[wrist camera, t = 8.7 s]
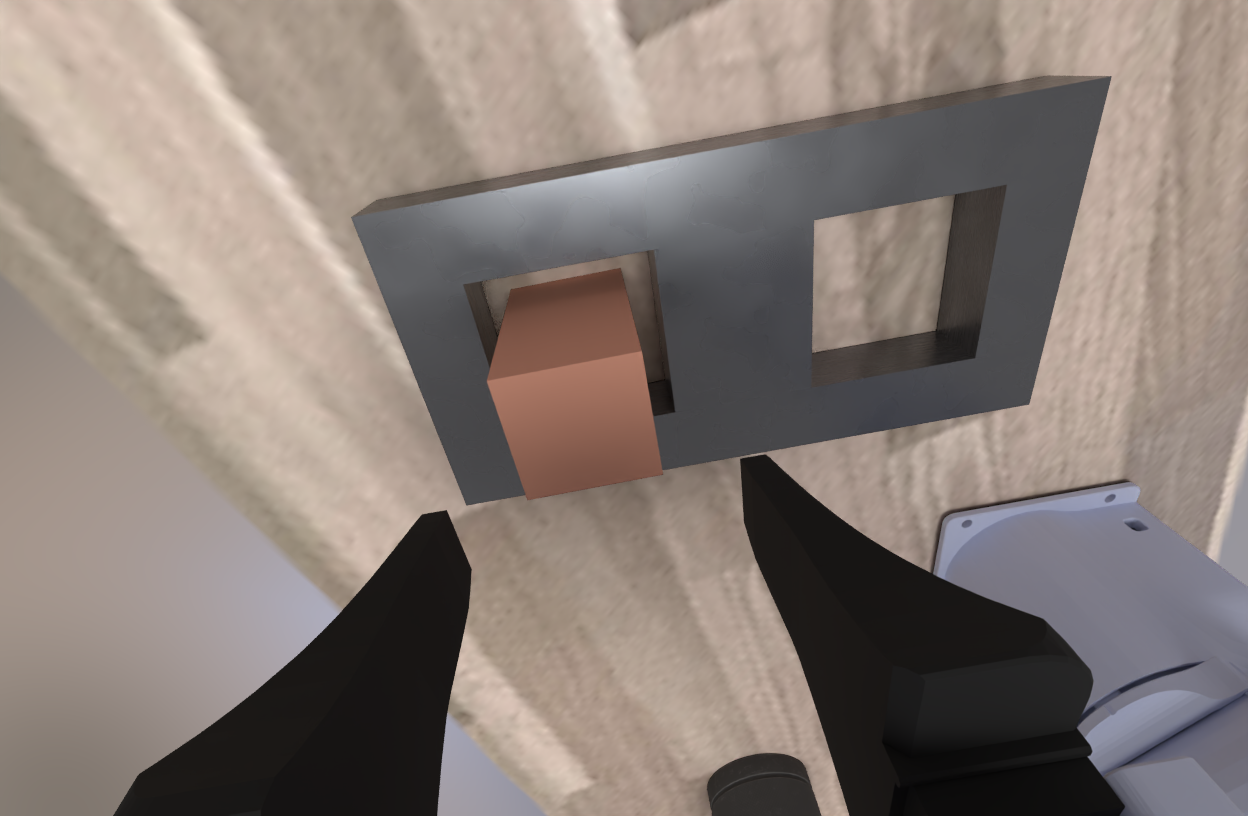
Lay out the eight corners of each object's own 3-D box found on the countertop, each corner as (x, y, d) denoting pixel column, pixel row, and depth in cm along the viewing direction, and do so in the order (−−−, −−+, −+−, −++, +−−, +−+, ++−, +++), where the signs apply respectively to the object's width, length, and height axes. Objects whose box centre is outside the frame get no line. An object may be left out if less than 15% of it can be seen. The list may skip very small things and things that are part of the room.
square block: (620, 268, 20) (641, 350, 14) (637, 366, 22) (663, 474, 16) (510, 289, 20) (486, 381, 14) (538, 385, 22) (527, 500, 16)
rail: (1047, 75, 18) (1111, 76, 16) (988, 374, 24) (1029, 404, 22) (376, 200, 18) (351, 217, 16) (475, 466, 24) (466, 505, 22)
